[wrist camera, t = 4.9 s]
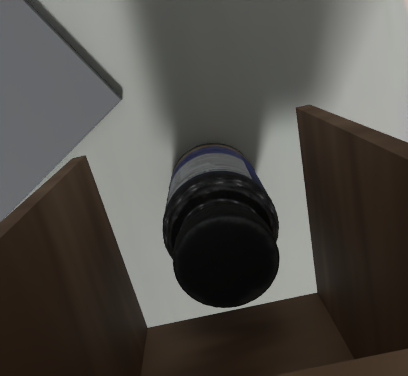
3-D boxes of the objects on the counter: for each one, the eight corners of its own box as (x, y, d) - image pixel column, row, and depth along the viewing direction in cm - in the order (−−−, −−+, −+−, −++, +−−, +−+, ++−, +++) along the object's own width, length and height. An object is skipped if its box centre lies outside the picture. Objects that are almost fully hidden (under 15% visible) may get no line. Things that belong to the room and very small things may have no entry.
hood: (140, 338, 19) (52, 862, 7) (72, 158, 15) (-434, 607, 3) (329, 299, 19) (611, 777, 6) (309, 104, 15) (932, 345, 2)
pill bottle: (248, 221, 26) (284, 325, 16) (169, 217, 26) (153, 320, 16) (259, 143, 24) (308, 205, 14) (172, 137, 24) (158, 196, 14)
